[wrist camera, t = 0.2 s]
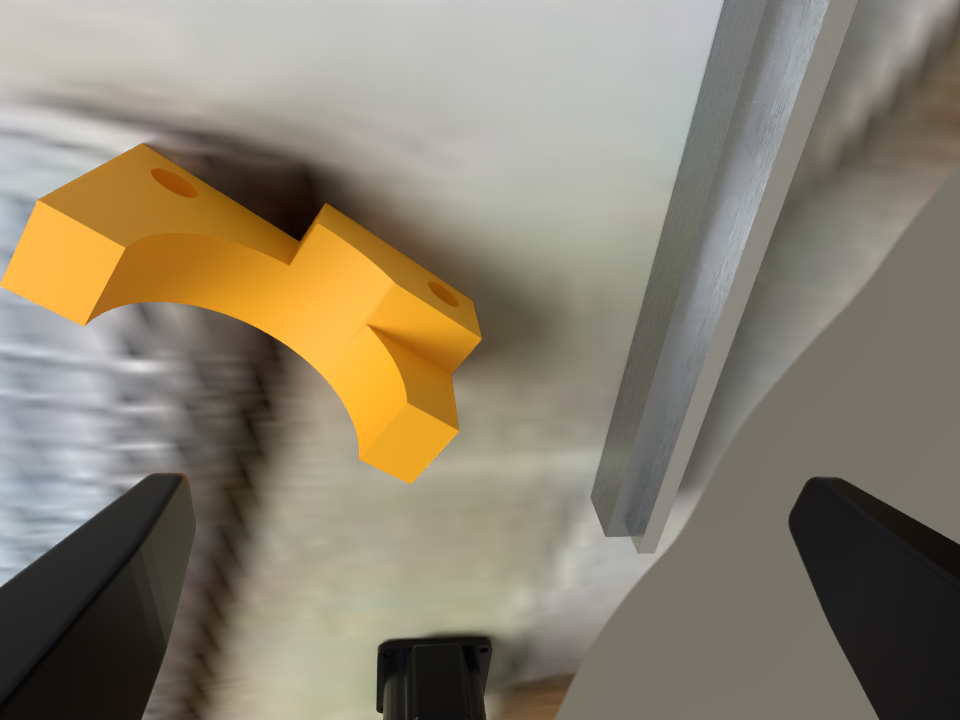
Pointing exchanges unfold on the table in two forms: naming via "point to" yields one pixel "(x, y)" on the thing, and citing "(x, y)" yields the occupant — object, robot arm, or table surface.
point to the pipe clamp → (261, 291)
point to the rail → (713, 245)
